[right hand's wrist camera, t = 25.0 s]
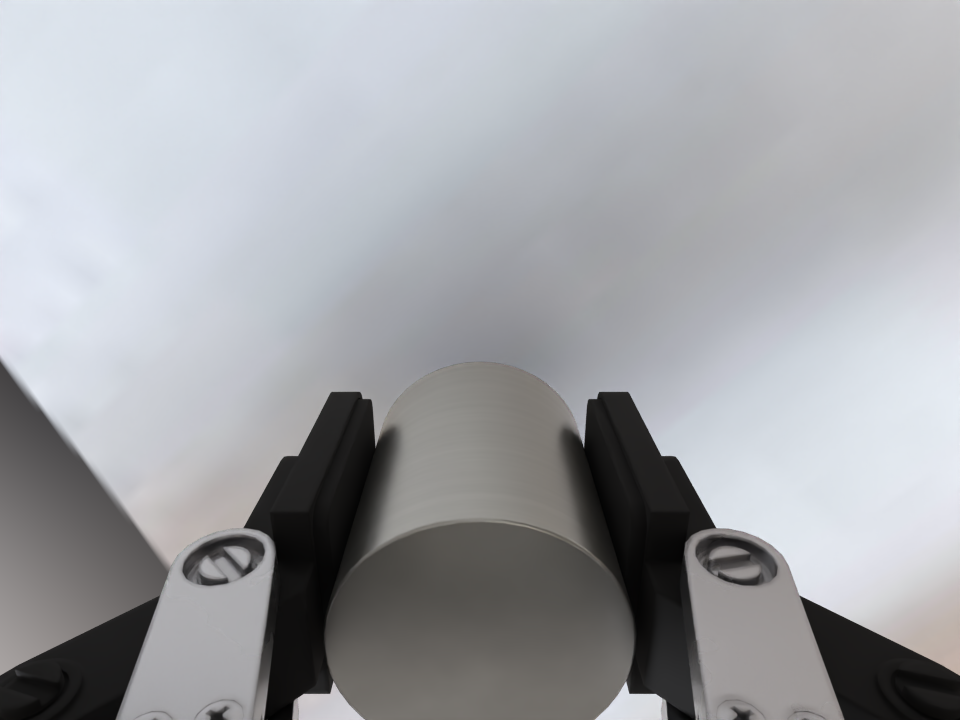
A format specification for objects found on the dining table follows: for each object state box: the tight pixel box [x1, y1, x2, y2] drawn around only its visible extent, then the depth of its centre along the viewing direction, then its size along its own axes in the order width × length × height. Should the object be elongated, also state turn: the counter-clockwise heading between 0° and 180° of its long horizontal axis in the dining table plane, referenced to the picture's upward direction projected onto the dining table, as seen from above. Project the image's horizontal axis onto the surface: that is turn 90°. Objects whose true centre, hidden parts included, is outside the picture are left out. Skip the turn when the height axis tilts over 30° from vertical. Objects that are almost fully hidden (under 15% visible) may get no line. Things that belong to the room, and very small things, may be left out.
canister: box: [323, 362, 637, 720], centre depth 11 cm, size 4×4×5 cm
